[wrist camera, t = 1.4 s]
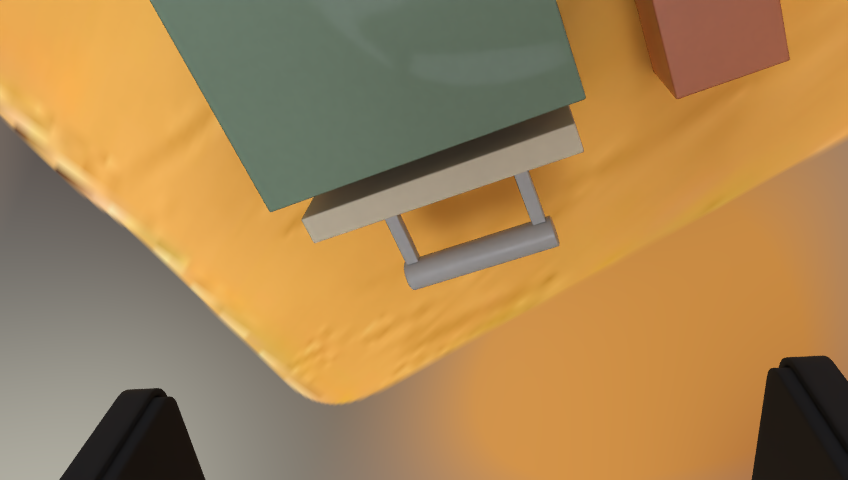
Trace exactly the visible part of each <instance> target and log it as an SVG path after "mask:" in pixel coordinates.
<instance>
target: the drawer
mask: <svg viewBox="0 0 848 480" xmlns="http://www.w3.org/2000/svg"><path fill="white" fill-rule="evenodd" d="M582 152H584V149H583V146H582V143H581V140H580V137H579V134H578V131H577V127H576V124H575V121H574V118H573V116H572V113H571V110H570V107H569V105H567V106H564V107H562V108H559V109H556V110H553V111H551V112H548V113H545V114H542V115H539V116H537V117H534V118H531V119H528V120H526V121H523V122H520V123H517V124H514V125H512V126H509V127H506V128H503V129H501V130H498V131H495V132H492V133H489V134H487V135H484V136H481V137H478V138H476V139H473V140H470V141H467V142H464V143H462V144H459V145H456V146H453V147H451V148H448V149H445V150H442V151H439V152H437V153H434V154H431V155H428V156H426V157H423V158H420V159H417V160H414V161H412V162H409V163H406V164H403V165H401V166H398V167H395V168H392V169H389V170H387V171H384V172H381V173H378V174H376V175H373V176H370V177H367V178H364V179H362V180H359V181H356V182H353V183H351V184H348V185H345V186H342V187H339V188H337V189H334V190H331V191H328V192H326V193H323V194H320V195H317V196H315V197H314V198H313V200H312V201H311V203H310V205H309V207H308V209H307V210H306V212H305V214H304V216H303V218H302V222H303V224H304V226H305V227H306V229H307V231H308V233H309V235H310V237H311V238H312V240H313V242H314V243H317V242H320V241H323V240H326V239H329V238H332V237H334V236H337V235H340V234H343V233H346V232H349V231H352V230H355V229H358V228H361V227H364V226H367V225H370V224H373V223H376V222H379V221H382V220H385V221H386V223H387V225H388V227H389V229H390V231H391V233H392V235H393V237H394V239H395V241H396V243H397V246H398V248H399V250H400V252H401V254H402V256H403V258H404V260H405V263H404V272H405V276H406V279H407V282H408V284H409V286H410V287H411V288H412V289H413V290H417V289H420V288H423V287H426V286H430V285H433V284H436V283H440V282H443V281H446V280H449V279H453V278H456V277H459V276H462V275H466V274H469V273H472V272H476V271H479V270H482V269H485V268H489V267H492V266H495V265H498V264H502V263H505V262H508V261H511V260H515V259H518V258H521V257H525V256H528V255H531V254H534V253H538V252H541V251H544V250H547V249H551V248H554V247H557V246H559V239H558V235H557V232H556V229H555V226H554V223H553V221H552V218H551V217H550V216H547V217H545V214H544V211H543V208H542V206H541V203H540V200H539V197H538V195H537V192H536V189H535V187H534V184H533V181H532V178H531V176H530V173H529V170H532V169H535V168H538V167H541V166H543V165H546V164H549V163H552V162H555V161H558V160H561V159H564V158H567V157H570V156H573V155H576V154H579V153H582ZM511 176H514V177H515V180H516V182H517V185H518V188H519V190H520V193H521V195H522V198H523V201H524V203H525V206H526V209H527V211H528V214H529V217H530V219H531V222H528V223H525V224H522V225H518V226H515V227H512V228H509V229H506V230H503V231H500V232H496V233H493V234H490V235H487V236H484V237H481V238H478V239H475V240H471V241H468V242H465V243H462V244H459V245H456V246H453V247H449V248H446V249H443V250H440V251H437V252H434V253H431V254H428V255H424V256H421V257H419V253H418V251H417V249H416V247H415V245H414V242H413V240H412V238H411V236H410V234H409V232H408V230H407V228H406V225H405V223H404V221H403V219H402V217H401V215H400V214H402V213H405V212H408V211H411V210H414V209H417V208H420V207H423V206H426V205H429V204H432V203H435V202H437V201H440V200H443V199H446V198H449V197H452V196H455V195H458V194H461V193H464V192H467V191H470V190H473V189H476V188H479V187H482V186H485V185H488V184H490V183H493V182H496V181H499V180H502V179H505V178H508V177H511Z"/></svg>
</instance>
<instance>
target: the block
mask: <svg viewBox="0 0 848 480" xmlns="http://www.w3.org/2000/svg"><path fill="white" fill-rule="evenodd" d="M635 2H636V6H637V10H638V14H639V18H640V21H641V25H642V29H643V33H644V37H645V41H646V44H647V48H648V52H649V56H650V60H651V64H652V68H653V71H654V73H655V74H656V75H657V76H658V77H659V79H660V80H661V81H662V82H663V83H664V85H665V86H666V87H667V88H668V89H669V91H670V92H671V93H672V94H673V95H674V97H675V98H676V99H679V98H682V97H685V96H688V95H691V94H694V93H697V92H699V91H702V90H705V89H708V88H711V87H714V86H717V85H720V84H722V83H725V82H728V81H731V80H734V79H737V78H740V77H743V76H746V75H748V74H751V73H754V72H757V71H760V70H763V69H766V68H769V67H771V66H774V65H777V64H780V63H783V62H786V61H788V60H789V59H790V58H789V52H788V46H787V40H786V34H785V28H784V22H783V16H782V10H781V4H780V0H635Z"/></svg>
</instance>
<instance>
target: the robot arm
mask: <svg viewBox="0 0 848 480" xmlns="http://www.w3.org/2000/svg"><path fill="white" fill-rule="evenodd" d="M60 480H205V477H204V475H203V472H202V469H201V467H200V464H199V461H198V459H197V456H196V453H195V451H194V448H193V445H192V443H191V440H190V437H189V434H188V432H187V429H186V426H185V424H184V421H183V418H182V416H181V413H180V410H179V408H178V405H177V402H176V401H175V399H174V398H173V397H167V395H166V393H165V392H164V391H163V390H162V389H159V388H154V389H132V390H125V391H123V392H122V393H121V394H120V395H119V396H118V397H117V399H116V400H115V402H114V403H113V405H112V406H111V407H110V409H109V410H108V412H107V413H106V414H105V416H104V417H103V419H102V420H101V422H100V423H99V425H98V426H97V427H96V429H95V430H94V432H93V433H92V434H91V436H90V437H89V439H88V440H87V441H86V443H85V444H84V446H83V447H82V448H81V450H80V451H79V453H78V454H77V456H76V457H75V459H74V460H73V461H72V463H71V464H70V465H69V467H68V468H67V470H66V471H65V473H64V474H63V475H62V477H61V478H60ZM752 480H848V381H847V380H846V378H845V377H844V376H843V374H842V373H841V372H840V370H839V369H838V368H837V366H836V365H835V364H834V362H833V361H832V360H831V359H830V358H828V357H826V356H808V357H787V358H783V359H782V361H781V362H780V365H779V368H771V369H770V370H769V371H768V375H767V380H766V388H765V394H764V401H763V407H762V415H761V421H760V428H759V434H758V441H757V449H756V455H755V462H754V469H753V475H752Z"/></svg>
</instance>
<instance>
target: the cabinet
mask: <svg viewBox="0 0 848 480" xmlns="http://www.w3.org/2000/svg"><path fill="white" fill-rule="evenodd" d="M150 2H151V3H152V5H153V7H154V9H155V10H156V12H157V14H158V16H159V17H160V19H161V21H162V23H163V25H164V26H165V28H166V30H167V32H168V33H169V35H170V37H171V39H172V40H173V42H174V44H175V46H176V47H177V49H178V51H179V53H180V54H181V56H182V58H183V60H184V62H185V63H186V65H187V67H188V69H189V70H190V72H191V74H192V76H193V77H194V79H195V81H196V83H197V84H198V86H199V88H200V90H201V92H202V93H203V95H204V97H205V99H206V100H207V102H208V104H209V106H210V107H211V109H212V111H213V113H214V114H215V116H216V118H217V120H218V122H219V123H220V125H221V127H222V129H223V130H224V132H225V134H226V136H227V137H228V139H229V141H230V143H231V144H232V146H233V148H234V150H235V151H236V153H237V155H238V157H239V159H240V160H241V162H242V164H243V166H244V167H245V169H246V171H247V173H248V174H249V176H250V178H251V180H252V181H253V183H254V185H255V187H256V189H257V190H258V192H259V194H260V196H261V197H262V199H263V201H264V203H265V204H266V206H267V208H268V210H269V211H270V212H273V211H276V210H278V209H281V208H284V207H287V206H290V205H292V204H295V203H298V202H301V201H303V200H306V199H309V198H312V197H315V196H317V195H320V194H323V193H326V192H328V191H331V190H334V189H337V188H339V187H342V186H345V185H348V184H351V183H353V182H356V181H359V180H362V179H364V178H367V177H370V176H373V175H376V174H378V173H381V172H384V171H387V170H389V169H392V168H395V167H398V166H401V165H403V164H406V163H409V162H412V161H414V160H417V159H420V158H423V157H426V156H428V155H431V154H434V153H437V152H439V151H442V150H445V149H448V148H451V147H453V146H456V145H459V144H462V143H464V142H467V141H470V140H473V139H476V138H478V137H481V136H484V135H487V134H489V133H492V132H495V131H498V130H501V129H503V128H506V127H509V126H512V125H514V124H517V123H520V122H523V121H526V120H528V119H531V118H534V117H537V116H539V115H542V114H545V113H548V112H551V111H553V110H556V109H559V108H562V107H564V106H567V105H570V104H573V103H576V102H578V101H581V100H584V99H585V98H586V96H585V93H584V89H583V86H582V83H581V80H580V76H579V73H578V70H577V67H576V64H575V60H574V57H573V54H572V51H571V47H570V44H569V41H568V38H567V35H566V31H565V28H564V25H563V22H562V18H561V15H560V12H559V9H558V6H557V2H556V0H150Z"/></svg>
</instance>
